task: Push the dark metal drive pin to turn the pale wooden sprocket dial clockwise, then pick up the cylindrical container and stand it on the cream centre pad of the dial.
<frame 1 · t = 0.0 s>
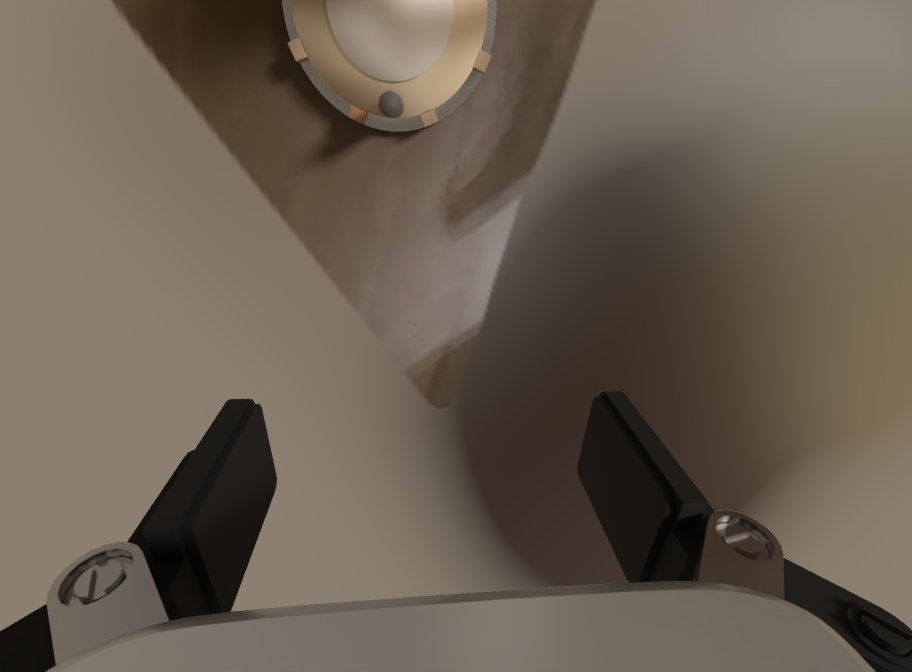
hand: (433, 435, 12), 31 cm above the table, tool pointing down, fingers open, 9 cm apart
dial base: (392, 16, 32), on the table
dial: (389, 2, 28), point 5 cm above the table, hinge at 0.0°
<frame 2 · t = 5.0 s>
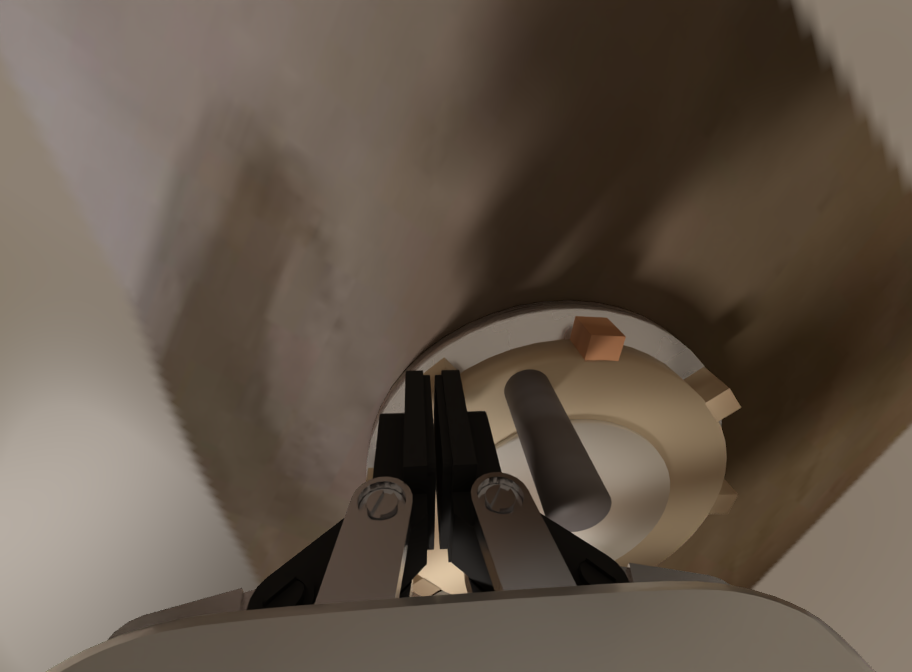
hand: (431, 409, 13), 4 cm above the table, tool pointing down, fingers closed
dial base: (540, 457, 20), on the table
dial: (573, 544, 16), point 5 cm above the table, hinge at -2.3°, touching gripper
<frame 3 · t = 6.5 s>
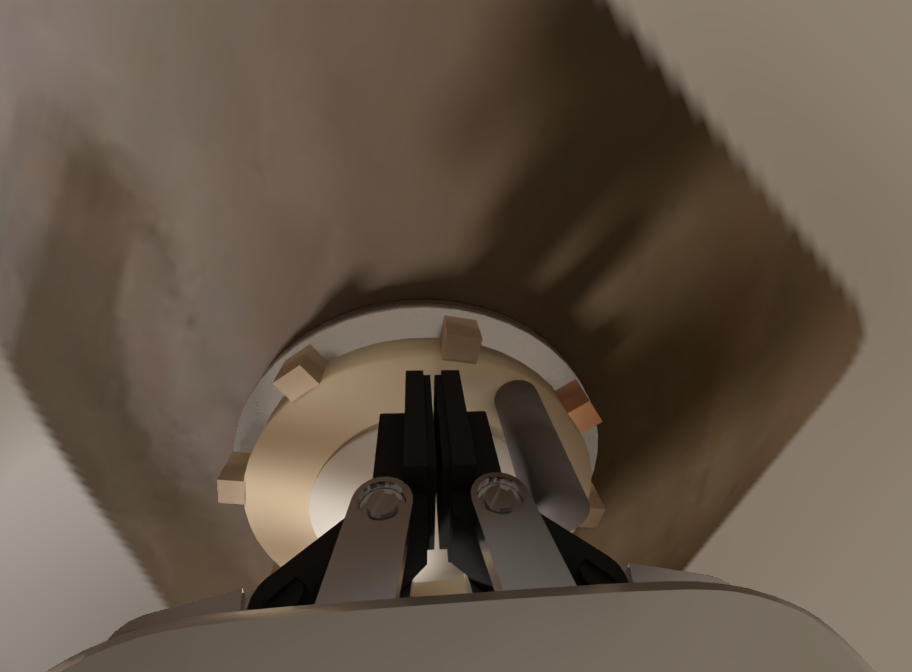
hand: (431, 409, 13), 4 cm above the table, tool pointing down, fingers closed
dial base: (423, 457, 19), on the table
dial: (425, 544, 15), point 5 cm above the table, hinge at -53.2°, touching gripper
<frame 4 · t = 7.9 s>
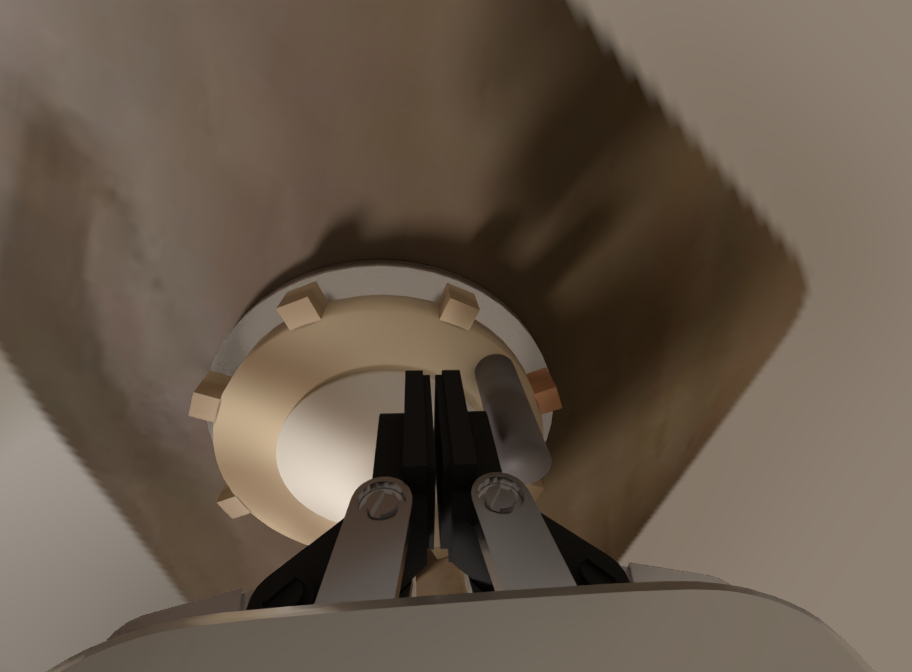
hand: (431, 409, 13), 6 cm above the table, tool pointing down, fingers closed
dial base: (389, 414, 21), on the table
dial: (384, 488, 17), point 5 cm above the table, hinge at -68.0°
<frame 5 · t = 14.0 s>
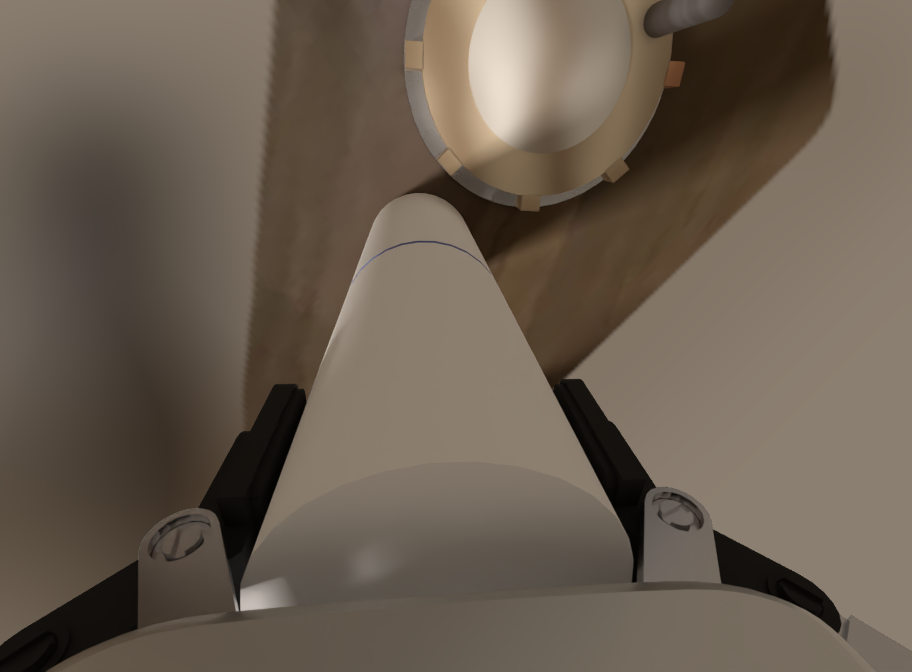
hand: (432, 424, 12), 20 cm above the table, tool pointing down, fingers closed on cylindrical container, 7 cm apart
cylindrical container: (420, 244, 30), on the table, touching gripper
dial base: (535, 69, 25), on the table
dial: (558, 60, 21), point 5 cm above the table, hinge at -68.0°
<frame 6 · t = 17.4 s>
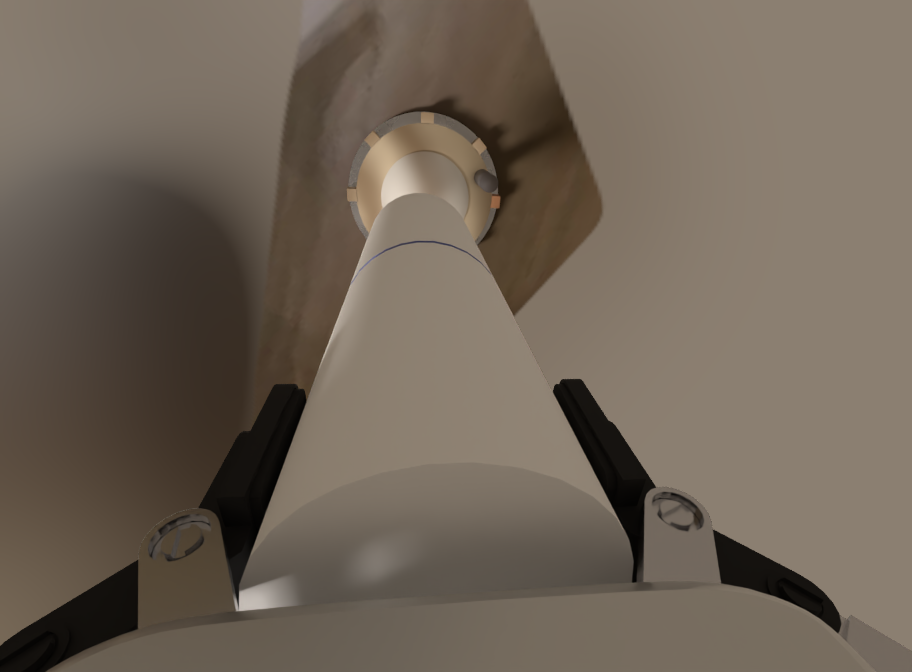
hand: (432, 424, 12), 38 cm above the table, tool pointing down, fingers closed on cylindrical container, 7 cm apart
cylindrical container: (420, 244, 30), point 18 cm above the table, touching gripper
dial base: (424, 194, 45), on the table
dial: (425, 201, 41), point 5 cm above the table, hinge at -68.0°
when the fingers open (24 cm above the table, at t = 20.8 s): cylindrical container stays where it is, resting on dial.
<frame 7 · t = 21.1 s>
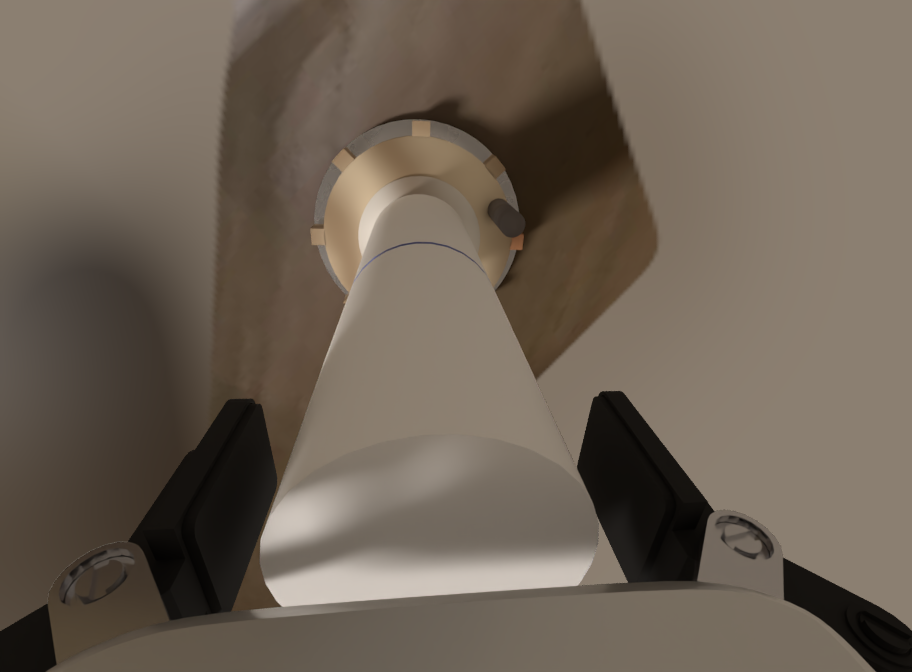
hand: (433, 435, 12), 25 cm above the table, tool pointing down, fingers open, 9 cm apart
cylindrical container: (419, 243, 31), point 3 cm above the table, touching dial
dial base: (419, 230, 34), on the table
dial: (420, 245, 29), point 5 cm above the table, hinge at -68.0°, touching cylindrical container
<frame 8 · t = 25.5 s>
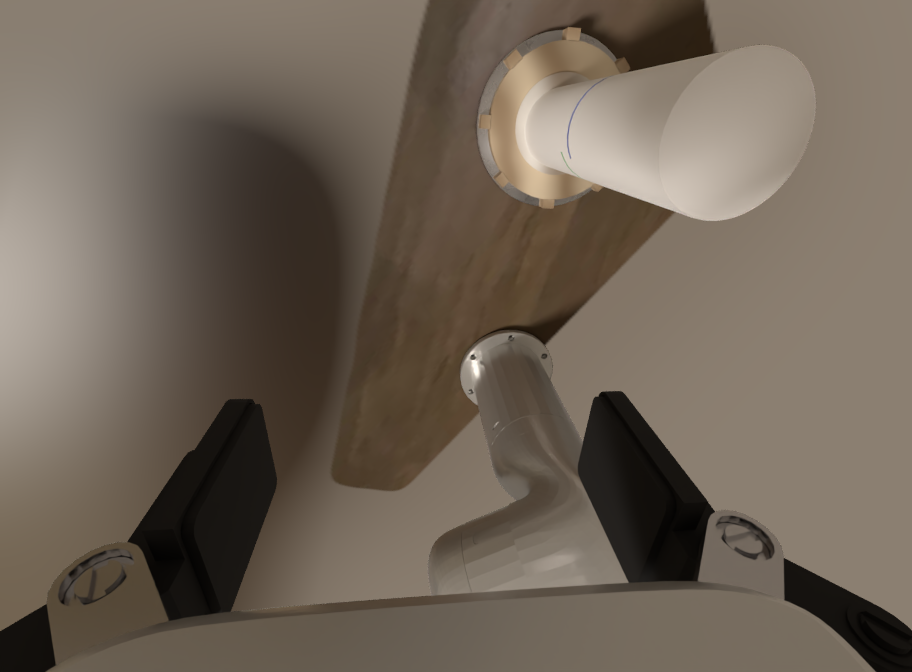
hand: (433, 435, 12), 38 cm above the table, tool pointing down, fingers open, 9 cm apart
cylindrical container: (559, 128, 41), point 3 cm above the table, touching dial
dial base: (551, 125, 43), on the table
dial: (566, 126, 39), point 5 cm above the table, hinge at -68.0°, touching cylindrical container
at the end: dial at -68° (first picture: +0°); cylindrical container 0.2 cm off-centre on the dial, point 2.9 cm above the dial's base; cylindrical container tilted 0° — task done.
